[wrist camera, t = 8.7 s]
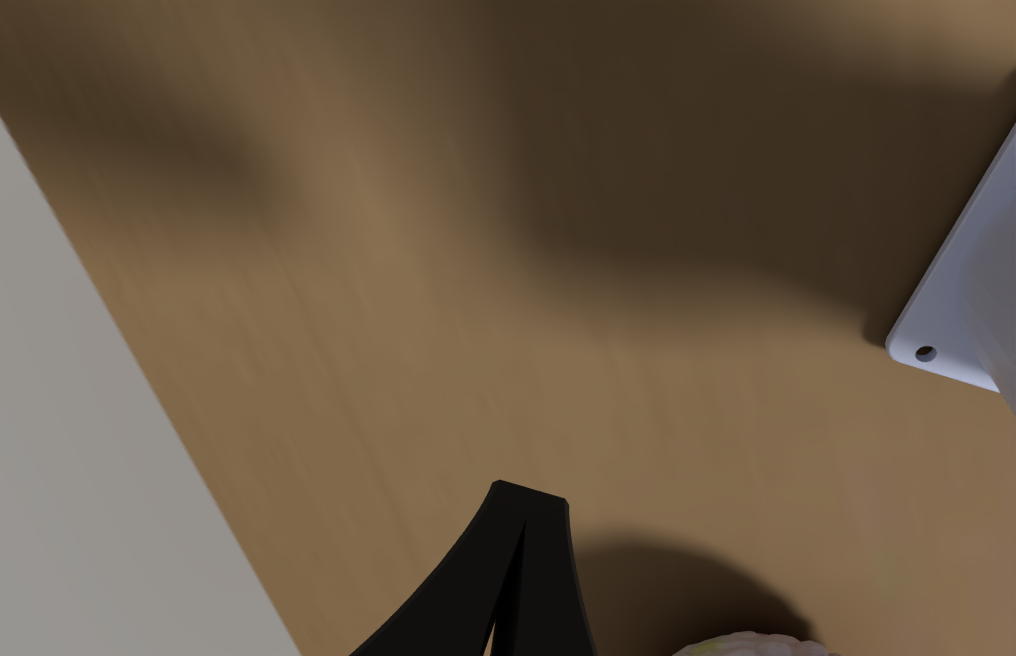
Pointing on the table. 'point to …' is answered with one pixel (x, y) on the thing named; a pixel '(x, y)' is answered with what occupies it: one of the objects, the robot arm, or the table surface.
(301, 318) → the table surface
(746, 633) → the decorative item
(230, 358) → the table surface
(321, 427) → the table surface
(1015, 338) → the robot arm
